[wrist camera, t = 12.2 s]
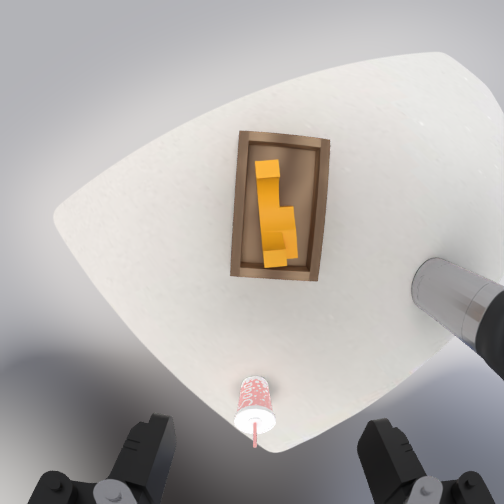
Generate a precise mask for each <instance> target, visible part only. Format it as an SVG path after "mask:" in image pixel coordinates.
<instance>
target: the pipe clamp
mask: <svg viewBox="0 0 504 504" xmlns="http://www.w3.org/2000/svg"><path fill="white" fill-rule="evenodd" d="M255 174H256V185H257V195H258V206H259V217H260V228H261V240H262V251H263V260H264V267H265V268H269V267H280V266H287V259H293V258H298V250H297V235H296V226H295V218H294V206H280V205H279V178H280V170H279V160H278V159H277V160H264V161H255Z"/></svg>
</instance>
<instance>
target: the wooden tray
mask: <svg viewBox="0 0 504 504" xmlns="http://www.w3.org/2000/svg"><path fill="white" fill-rule="evenodd" d="M329 157H330V140H328V139H321V138H314V137H306V136H298V135H289V134H279V133H267V132H253V131H240V132H239V144H238V158H237V171H236V186H235V201H234V217H233V233H232V251H231V270H230V276H237V277H251V278H266V279H283V280H300V281H318V275H319V267H320V259H321V251H322V242H323V233H324V223H325V213H326V201H327V188H328V174H329ZM277 159H278V160H279V170H280V178H279V205H280V206H294V218H295V226H296V235H297V250H298V258H293V259H287V266H280V267H269V268H265V267H264V260H263V251H262V240H261V228H260V217H259V206H258V195H257V185H256V174H255V161H264V160H277Z"/></svg>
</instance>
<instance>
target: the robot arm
mask: <svg viewBox="0 0 504 504" xmlns="http://www.w3.org/2000/svg"><path fill="white" fill-rule="evenodd" d="M412 297H413V300H414V302H415V304H416V305H417V306H418V307H420V308H421V309H422V310H423V311H425V312H426V313H427V314H429V315H430V316H431V317H432V318H434V319H435V320H436V321H438V322H439V323H440V324H441V325H443V326H444V327H445V328H446V329H448V330H449V331H450V332H451V333H453V334H454V335H455V336H457V337H458V338H459V339H460V340H461V341H462V342H464V343H465V344H466V345H468V346H469V347H470V348H471V349H472V350H474V351H475V352H476V353H477V354H478V355H479V356H481V357H482V358H483V359H484V360H485V362H486V363H487V364H488V366H489V367H490V368H491V369H493V370H494V371H495V372H496V373H497V374H498V375H499V376H500V377H501V378H502V379H503V380H504V286H502V285H500V284H498V283H496V282H493V281H491V280H489V279H487V278H485V277H482V276H480V275H478V274H476V273H473V272H471V271H469V270H467V269H464V268H462V267H460V266H457V265H455V264H453V263H450V262H448V261H445V260H443V259H440V258H432V259H430V260H428V261H426V262H425V263H424V264H423V265H422V266H421V267H420V268H419V270H418V271H417V273H416V275H415V277H414V280H413V284H412ZM175 447H176V434H175V429H174V423H173V417H172V416H168V415H163V414H158V413H153V414H152V416H151V418H150V420H149V423H144V422H139V423H138V424H137V425H135V426H134V427H133V428H132V429H131V430H130V433H129V435H128V437H127V440H126V441H125V443H124V445H123V448H122V450H121V452H120V454H119V456H118V458H117V460H116V463H115V465H114V467H113V469H112V471H111V473H110V475H109V476H108V478H106V479H105V480H103V481H100V482H99V483H84V482H78V481H72V480H70V479H69V478H68V477H67V476H66V475H65V474H63V473H61V472H59V471H48V472H46V473H44V474H43V475H42V476H41V478H40V480H39V482H38V484H37V486H36V487H35V489H34V491H33V493H32V496H31V497H30V499H29V502H28V504H160V503H161V499H162V495H163V492H164V488H165V484H166V481H167V477H168V474H169V470H170V466H171V463H172V459H173V456H174V452H175ZM357 452H358V456H359V459H360V461H361V464H362V467H363V470H364V473H365V476H366V479H367V482H368V485H369V488H370V491H371V494H372V497H373V500H374V503H375V504H495V502H494V500H493V498H492V496H491V494H490V492H489V490H488V488H487V486H486V484H485V483H484V481H483V479H482V477H481V476H480V475H479V474H478V473H477V472H474V471H468V472H465V473H464V474H463V475H461V476H460V477H459V479H457V480H450V481H442V482H441V481H440V480H438V479H437V478H435V477H432V476H427V475H426V473H425V471H424V469H423V467H422V465H421V463H420V462H419V460H418V458H417V456H416V454H415V453H414V451H413V448H412V446H411V445H410V444H409V441H408V439H407V437H406V435H405V434H404V433H403V432H401V431H400V430H399V429H398V428H397V427H395V428H392V425H391V423H390V422H389V420H388V419H387V418H384V419H378V420H371V421H369V422H368V424H367V426H366V428H365V430H364V432H363V434H362V436H361V438H360V439H359V441H358V445H357Z"/></svg>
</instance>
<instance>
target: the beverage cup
mask: <svg viewBox="0 0 504 504" xmlns="http://www.w3.org/2000/svg"><path fill="white" fill-rule="evenodd" d="M234 423H235V426H236V427H237V428H238V429H239V430H241V431H243V432H245V433H249V434H253V448H256V447H257V434H261V433H264V432H268V431H269V430H271V429H272V428H273V427H274V425H275V424H276V419H275V414H274V413H273V410H272V404H271V398H270V393H269V387H268V383H267V381H266V380H265V379H264V378H262V377H259V376H251V377H248V378H246V379H245V380H244V381H243V382H242V385H241V391H240V397H239V403H238V409H237V413H236V415H235V418H234Z"/></svg>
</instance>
